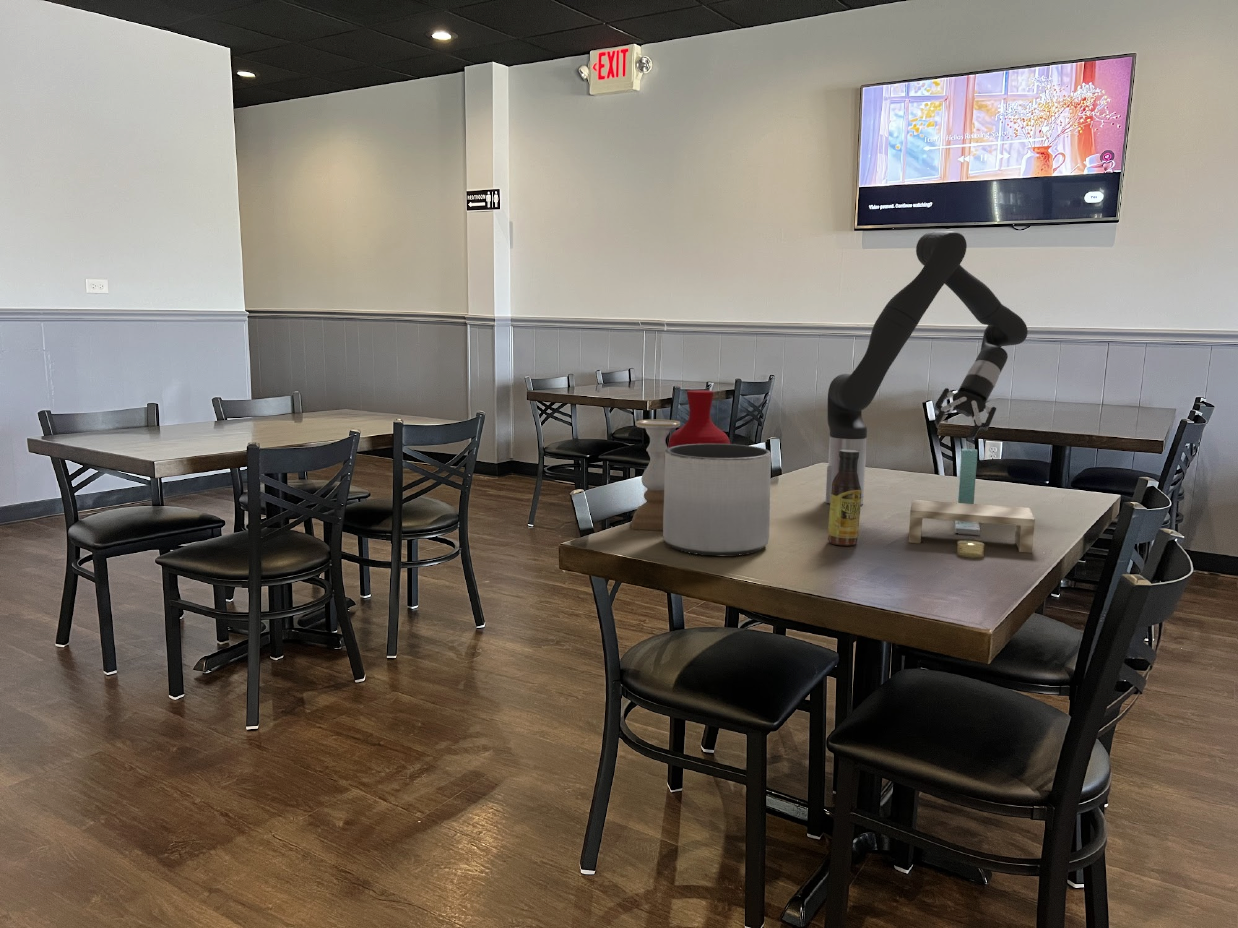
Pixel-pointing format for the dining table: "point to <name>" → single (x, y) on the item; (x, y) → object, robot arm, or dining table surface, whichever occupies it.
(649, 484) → the candle holder
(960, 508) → the plinth shelf
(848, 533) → the sauce bottle
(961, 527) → the bar
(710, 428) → the vase
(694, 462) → the planter
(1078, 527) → the dining table surface
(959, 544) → the block
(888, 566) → the dining table surface
